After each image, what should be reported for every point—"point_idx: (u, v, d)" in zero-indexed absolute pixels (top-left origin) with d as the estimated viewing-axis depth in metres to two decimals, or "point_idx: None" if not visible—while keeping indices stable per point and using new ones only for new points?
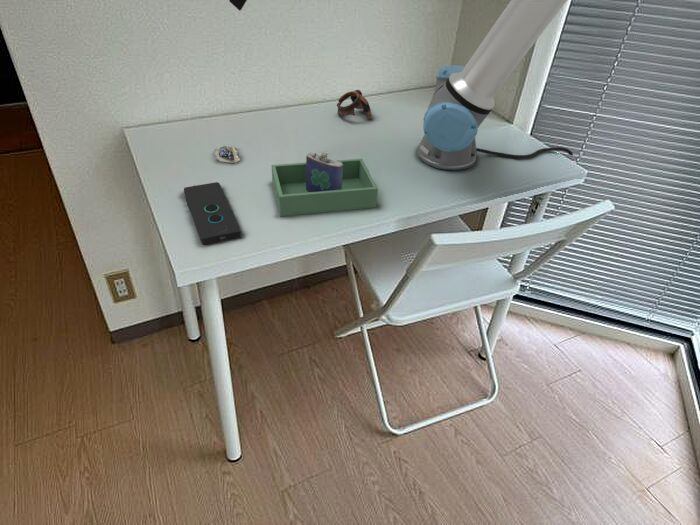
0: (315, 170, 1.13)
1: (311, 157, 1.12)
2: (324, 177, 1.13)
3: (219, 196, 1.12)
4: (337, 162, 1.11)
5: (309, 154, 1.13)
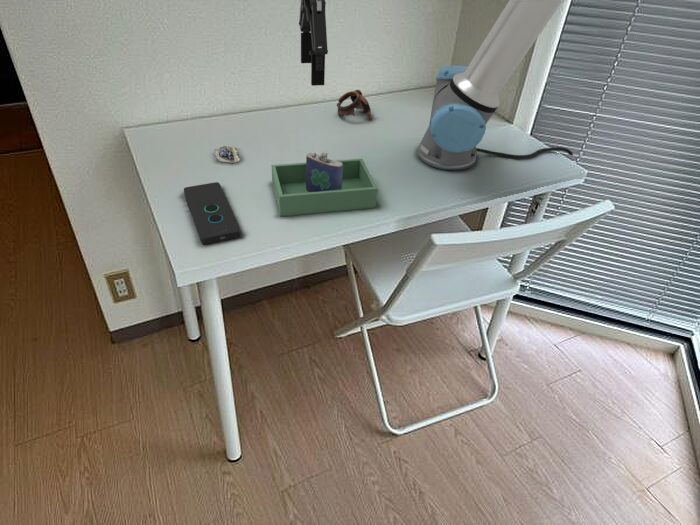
0: (315, 170, 1.13)
1: (311, 157, 1.12)
2: (324, 177, 1.13)
3: (219, 196, 1.12)
4: (337, 162, 1.11)
5: (309, 154, 1.13)
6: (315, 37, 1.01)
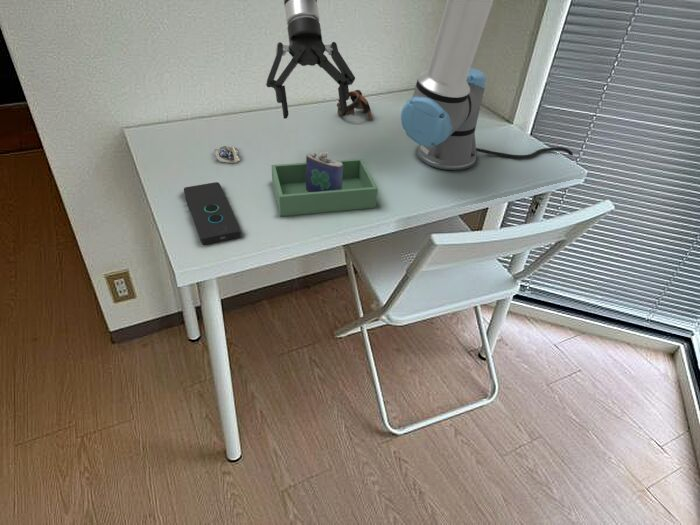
0: (315, 170, 1.13)
1: (311, 157, 1.12)
2: (324, 177, 1.13)
3: (219, 196, 1.12)
4: (337, 162, 1.11)
5: (309, 154, 1.13)
6: None
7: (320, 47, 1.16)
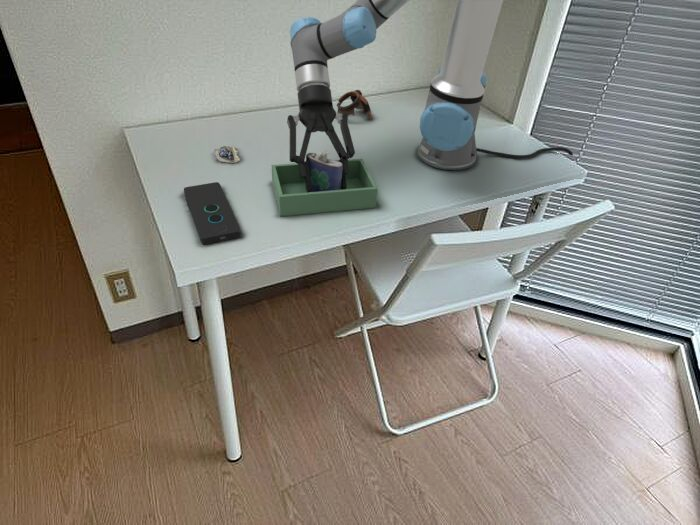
0: (315, 170, 1.13)
1: (311, 157, 1.12)
2: (324, 177, 1.13)
3: (219, 196, 1.12)
4: (337, 162, 1.11)
5: (309, 154, 1.13)
6: None
7: (330, 114, 1.14)
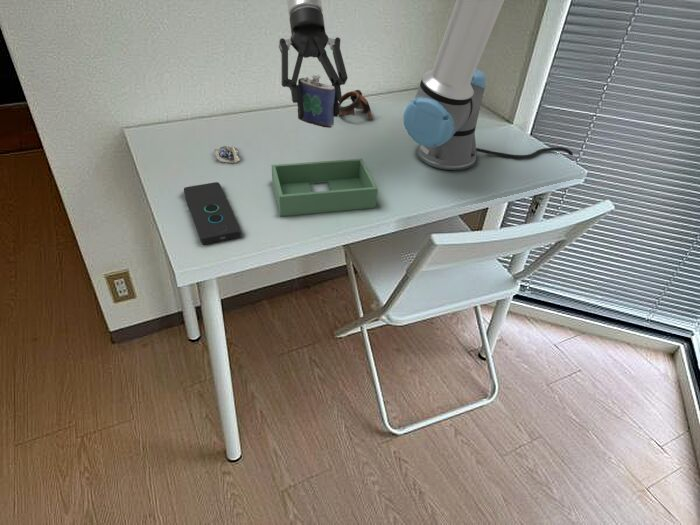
0: (307, 95, 1.12)
1: (303, 81, 1.11)
2: (316, 101, 1.12)
3: (219, 196, 1.12)
4: (329, 86, 1.10)
5: (301, 79, 1.12)
6: None
7: (323, 38, 1.13)
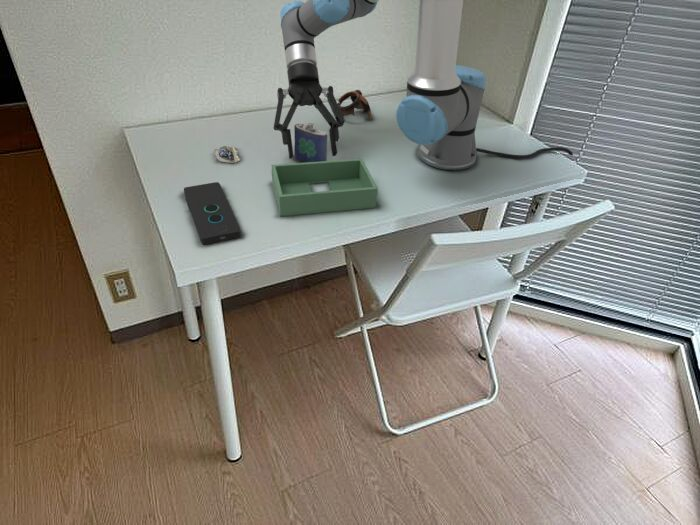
0: (302, 139, 1.25)
1: (298, 127, 1.24)
2: (310, 145, 1.24)
3: (219, 196, 1.12)
4: (322, 131, 1.23)
5: (297, 124, 1.25)
6: None
7: (317, 89, 1.26)
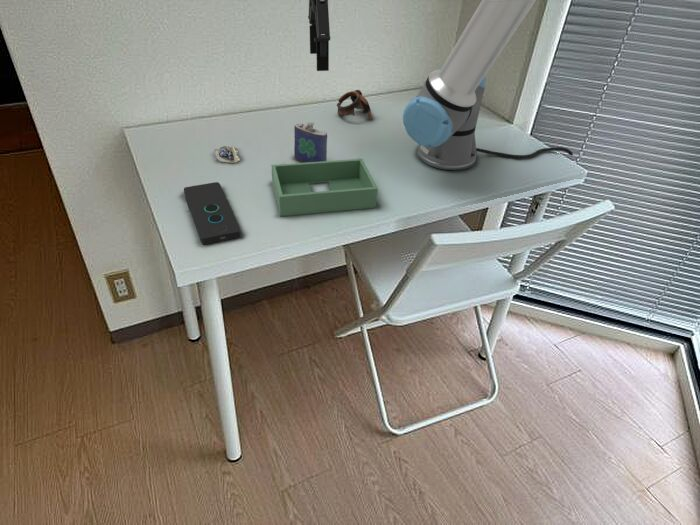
0: (302, 139, 1.25)
1: (298, 127, 1.24)
2: (310, 145, 1.24)
3: (219, 196, 1.12)
4: (322, 131, 1.23)
5: (297, 124, 1.25)
6: (318, 25, 1.11)
7: None
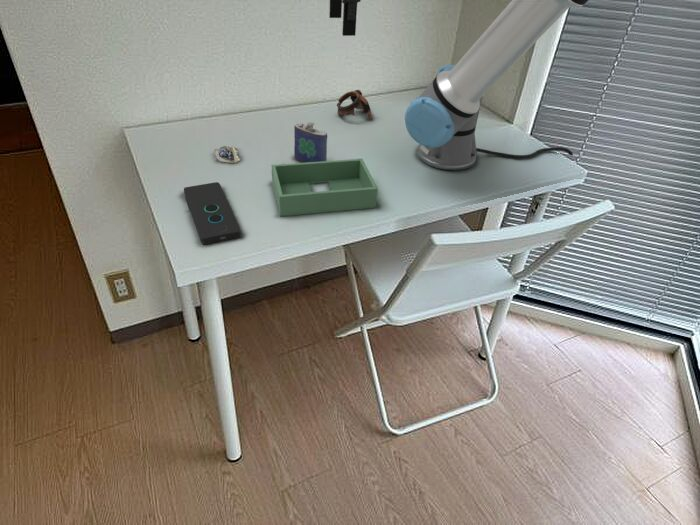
0: (302, 139, 1.25)
1: (298, 127, 1.24)
2: (310, 145, 1.24)
3: (219, 196, 1.12)
4: (322, 131, 1.23)
5: (297, 124, 1.25)
6: None
7: None
